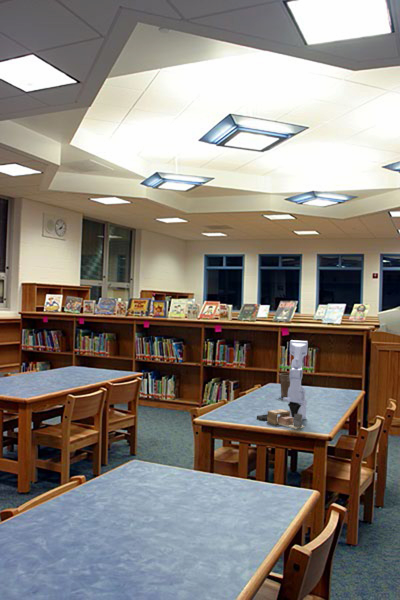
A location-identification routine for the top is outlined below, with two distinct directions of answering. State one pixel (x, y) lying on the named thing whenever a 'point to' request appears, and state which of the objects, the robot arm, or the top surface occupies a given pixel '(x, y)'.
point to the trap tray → (262, 417)
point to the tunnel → (273, 415)
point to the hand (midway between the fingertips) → (294, 417)
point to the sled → (291, 421)
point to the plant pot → (284, 384)
